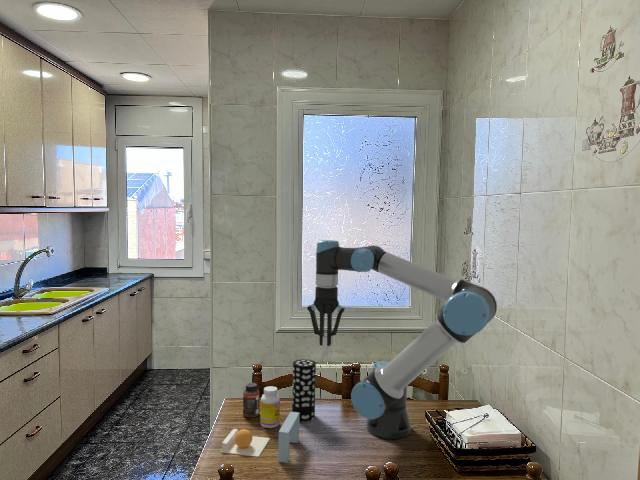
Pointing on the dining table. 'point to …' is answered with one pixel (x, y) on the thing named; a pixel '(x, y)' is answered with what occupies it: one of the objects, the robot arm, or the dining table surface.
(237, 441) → the ball
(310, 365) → the spotted tube
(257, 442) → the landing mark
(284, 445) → the bridge
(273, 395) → the supplement bottle
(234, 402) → the dining table surface
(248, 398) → the supplement bottle
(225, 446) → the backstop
